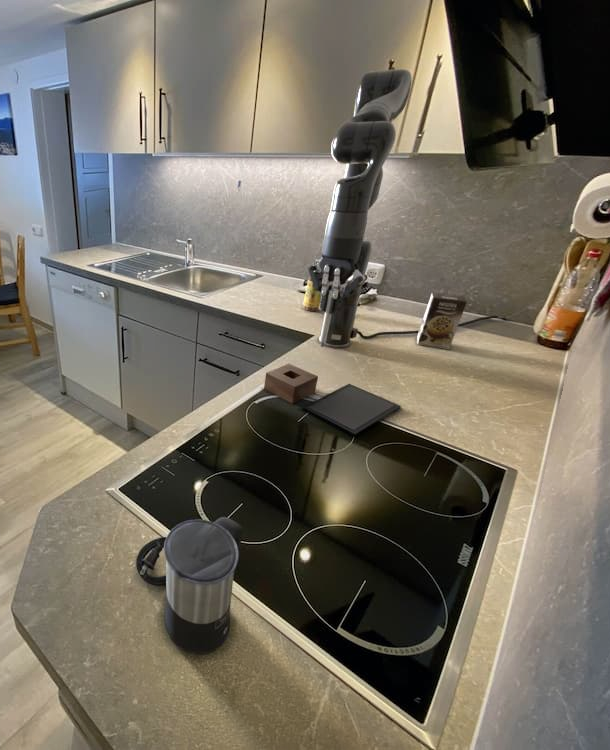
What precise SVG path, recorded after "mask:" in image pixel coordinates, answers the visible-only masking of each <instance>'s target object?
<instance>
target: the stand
mask: <svg viewBox="0 0 610 750" xmlns="http://www.w3.org/2000/svg"><path fill="white" fill-rule="evenodd" d="M264 377H265V379H264V385H263V390H264V391H267V392H269V393H271V394H273V395H274V396H277V397H278V398H280V399H282V400H284V401H286V402H288V403H290V404H292V405H293V404H294V403H297V402H299V401H301V400H303V399H305V398H308V397H309V396H311V395H313V394H315V393H316V390H317V389H316V388H317V384H318V379H319V376H318V375H316V374H314V373H311V372H309V371H307V370H305V369H302V368H300V367H298V366H296V365H293V364H291V363H286V364H285V365H282V366H279V367H276V368H273V369H272V370H270V371H268V372H265V376H264Z"/></svg>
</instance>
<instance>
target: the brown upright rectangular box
mask: <svg viewBox="0 0 610 750" xmlns="http://www.w3.org/2000/svg"><path fill="white" fill-rule="evenodd" d="M467 302H468V301H467V299H466V297H465V296H464V295H463V296H462V295H453V294H446V293H438V292H431V294H430V297H429V300H428V303H427V306H426V308H425V312H424V315H423V318H422V321H421V324H420V326H419V329H418V330H419V333H417V336H416V344H417V345H419V346H426V347H433V348H439V349H444V350H450V348H451V345H452V342H453V340H454V337H455V335H456V332H457V329H458V328H459V327H458V324H460V322H461V320H462V316H463V314H464V312H465V308H466V306H467Z"/></svg>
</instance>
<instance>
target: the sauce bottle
mask: <svg viewBox="0 0 610 750" xmlns="http://www.w3.org/2000/svg"><path fill="white" fill-rule="evenodd" d="M320 259H321V258H318V259H317V258H316V259H315V260H314V265H315V264H318V263H319V261H320ZM321 273H322V271H321ZM322 276H323V273H322ZM321 298H322V295H321V293H320V292H319V291H315V289H314V285H313V282H312V279H311V276H310V275H309V278H308V280H307V284H306V288H305V293H304V298H303V303H302V308H303V310H305V311H308V312H316V311H318V310H319V308H320V304H321Z"/></svg>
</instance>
